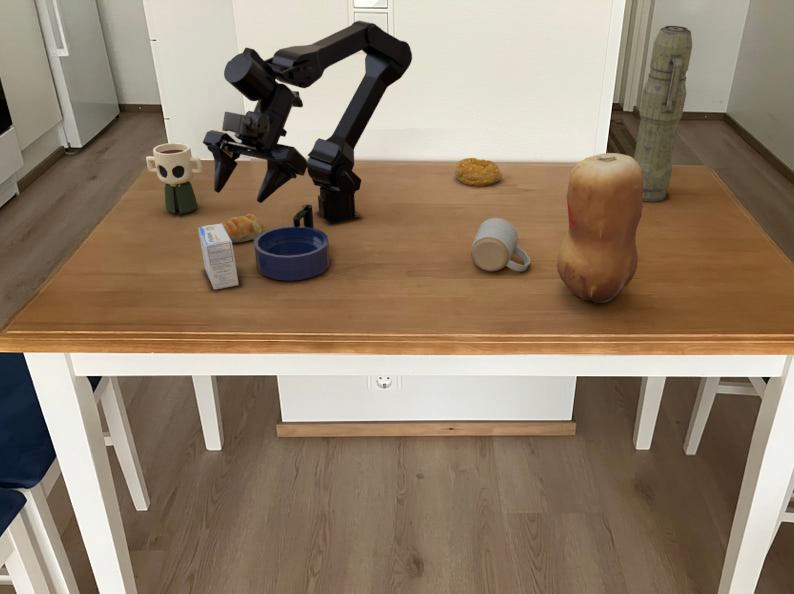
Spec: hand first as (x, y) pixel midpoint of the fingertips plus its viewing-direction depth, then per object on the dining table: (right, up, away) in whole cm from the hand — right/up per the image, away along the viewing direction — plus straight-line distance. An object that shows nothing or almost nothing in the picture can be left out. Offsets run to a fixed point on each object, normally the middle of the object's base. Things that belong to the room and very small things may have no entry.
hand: (237, 196), depth 134 cm
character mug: (-19, +3, +26) cm, 32 cm away
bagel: (+43, +13, +45) cm, 64 cm away
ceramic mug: (+46, -11, +10) cm, 48 cm away
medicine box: (-3, -14, +2) cm, 15 cm away
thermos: (+81, +9, +40) cm, 91 cm away
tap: (+10, -8, +12) cm, 17 cm away
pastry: (-4, -5, +16) cm, 17 cm away
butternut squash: (+61, -18, 0) cm, 64 cm away
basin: (+8, -11, +7) cm, 16 cm away
